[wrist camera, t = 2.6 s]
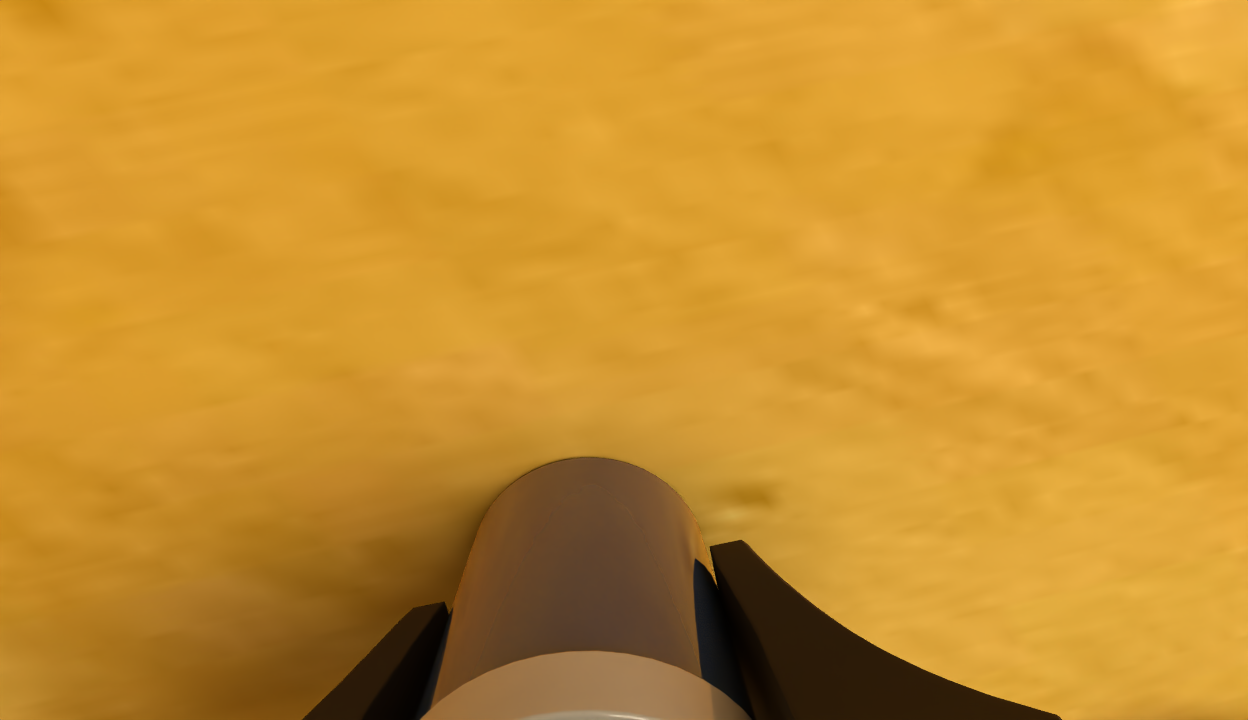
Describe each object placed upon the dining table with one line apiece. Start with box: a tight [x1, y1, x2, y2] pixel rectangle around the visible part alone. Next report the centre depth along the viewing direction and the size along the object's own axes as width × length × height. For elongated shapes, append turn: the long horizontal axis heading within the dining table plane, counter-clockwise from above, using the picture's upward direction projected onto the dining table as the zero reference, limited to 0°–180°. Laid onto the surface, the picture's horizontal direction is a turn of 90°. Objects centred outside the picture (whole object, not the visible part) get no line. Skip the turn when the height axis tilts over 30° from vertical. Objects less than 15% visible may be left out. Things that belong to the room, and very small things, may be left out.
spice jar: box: [414, 458, 757, 720], centre depth 11 cm, size 5×5×7 cm
